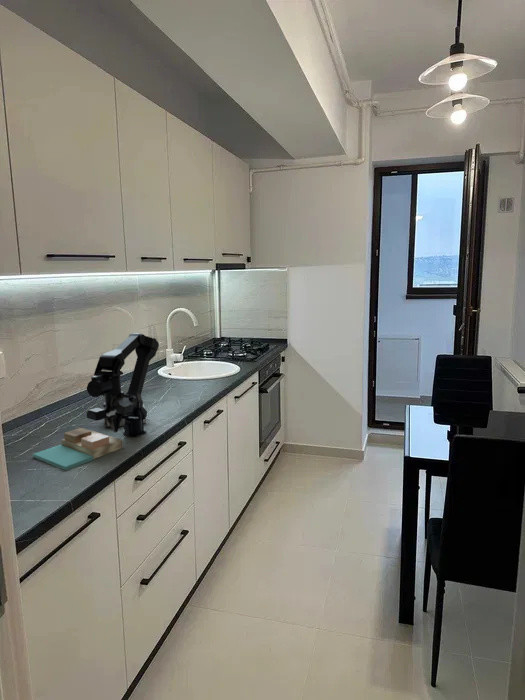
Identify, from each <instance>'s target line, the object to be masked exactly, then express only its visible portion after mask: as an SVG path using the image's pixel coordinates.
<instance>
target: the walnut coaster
mask: <svg viewBox="0 0 525 700" xmlns="http://www.w3.org/2000/svg"><path fill="white" fill-rule="evenodd" d="M63 434H64V435H63V437H64V439H65V440H67V441H70V442H73V443H78V442H81V438H84V437H87V436H90V435H92V433H91V431H90V430H89V429H87V428H84V427H79V428H76V429H73V430H69V431H66V432H63Z"/></svg>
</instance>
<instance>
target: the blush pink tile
mask: <svg viewBox="0 0 525 700" xmlns="http://www.w3.org/2000/svg"><path fill="white" fill-rule="evenodd" d="M99 433H100V432H99ZM99 433H96V434H93V435H90V436H87V437H84V438H81V445H82V446H85V447H88V448H90V449H95V448H98V447H101V446H104V445H106V444H109V436H110V435H108V436H106V435H107V434H105V435H102V434H103V433H102V434H99Z"/></svg>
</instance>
